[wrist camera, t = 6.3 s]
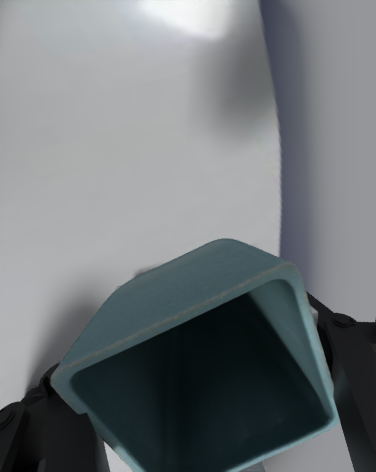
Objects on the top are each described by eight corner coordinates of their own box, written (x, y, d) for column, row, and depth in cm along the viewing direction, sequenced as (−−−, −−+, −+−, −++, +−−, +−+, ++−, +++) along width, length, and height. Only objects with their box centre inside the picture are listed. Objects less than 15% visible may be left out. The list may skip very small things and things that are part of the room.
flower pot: (109, 263, 15) (37, 383, 6) (218, 210, 15) (299, 258, 6) (163, 346, 17) (166, 509, 9) (255, 302, 17) (347, 423, 9)
